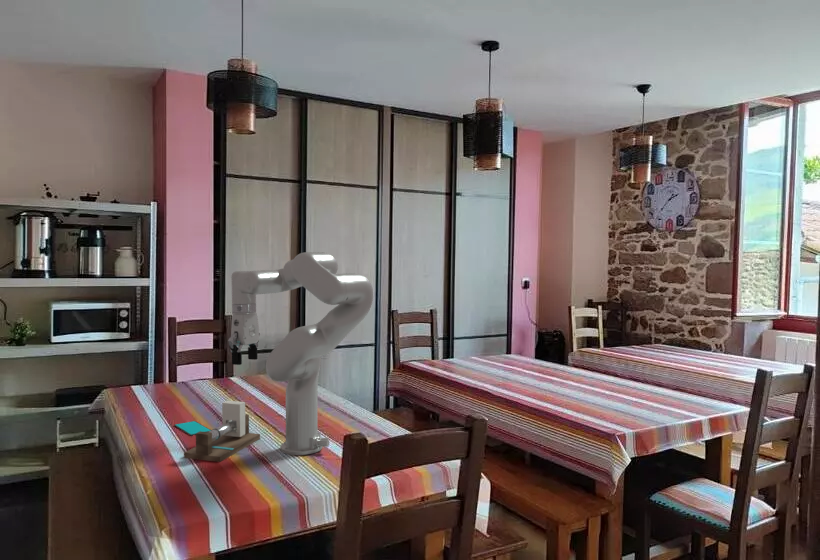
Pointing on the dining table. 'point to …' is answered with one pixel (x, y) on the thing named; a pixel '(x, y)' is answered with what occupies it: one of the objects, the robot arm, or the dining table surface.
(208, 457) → the pipe rig
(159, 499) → the dining table surface
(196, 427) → the smartphone
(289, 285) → the robot arm
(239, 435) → the collar
